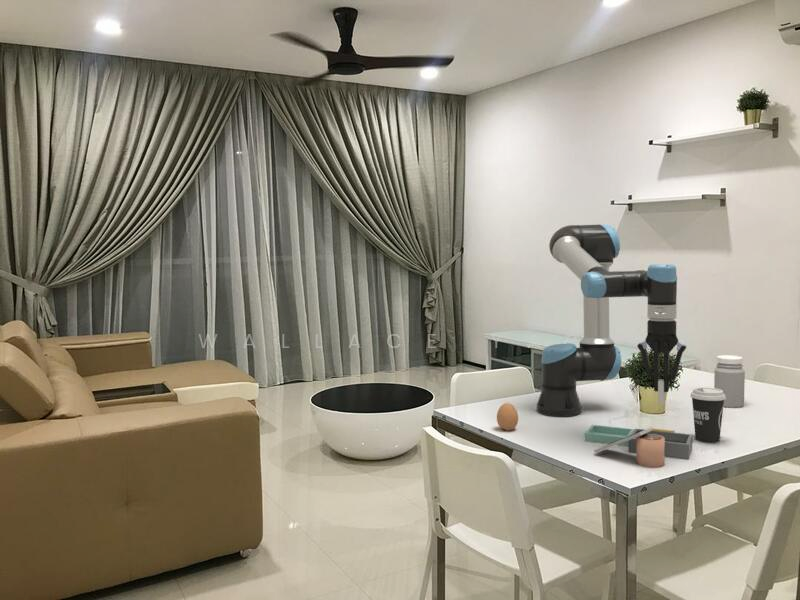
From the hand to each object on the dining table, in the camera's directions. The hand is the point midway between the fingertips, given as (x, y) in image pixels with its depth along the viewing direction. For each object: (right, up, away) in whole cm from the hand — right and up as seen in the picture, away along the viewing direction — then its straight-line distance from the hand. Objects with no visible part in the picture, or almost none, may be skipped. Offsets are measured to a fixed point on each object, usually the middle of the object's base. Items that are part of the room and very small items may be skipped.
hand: (661, 403), depth 187 cm
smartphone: (-16, -15, 0) cm, 22 cm away
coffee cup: (+18, -13, +10) cm, 24 cm away
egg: (-39, -13, +25) cm, 48 cm away
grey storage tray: (0, -14, +1) cm, 14 cm away
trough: (-11, -13, +13) cm, 21 cm away
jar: (+43, -9, +49) cm, 66 cm away
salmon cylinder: (-7, -15, -10) cm, 19 cm away
